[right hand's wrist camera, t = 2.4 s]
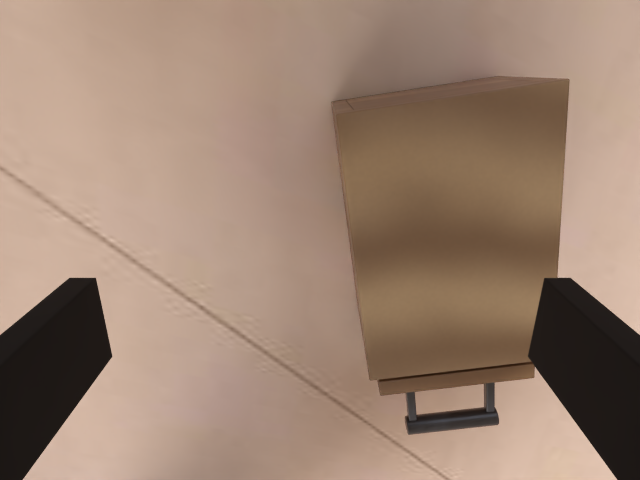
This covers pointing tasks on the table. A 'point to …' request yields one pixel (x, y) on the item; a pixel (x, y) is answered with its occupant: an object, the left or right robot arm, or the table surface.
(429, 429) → the drawer
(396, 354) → the cabinet
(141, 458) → the table surface
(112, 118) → the table surface
